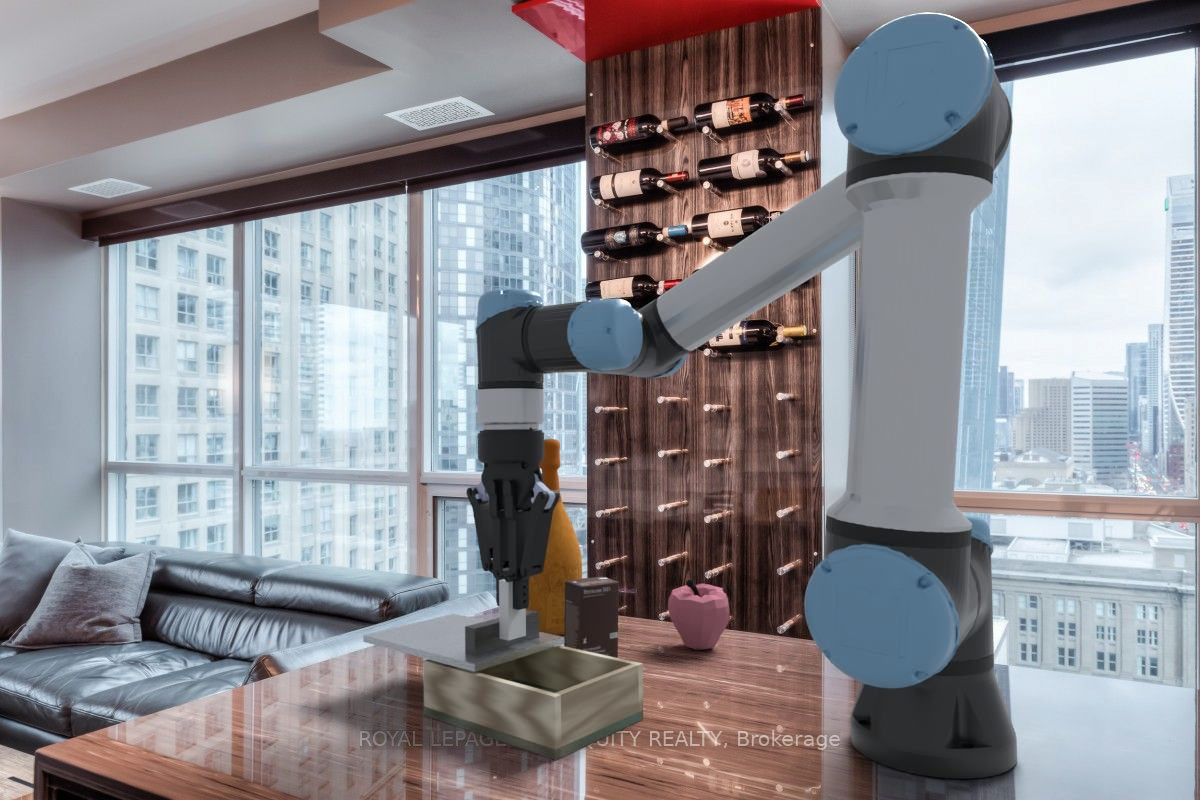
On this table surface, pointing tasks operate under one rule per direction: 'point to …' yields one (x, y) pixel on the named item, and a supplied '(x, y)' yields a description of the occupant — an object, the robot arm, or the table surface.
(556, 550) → the wine bottle
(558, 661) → the case
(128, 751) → the table surface
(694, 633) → the apple
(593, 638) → the box
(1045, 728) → the table surface
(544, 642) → the cover plate
